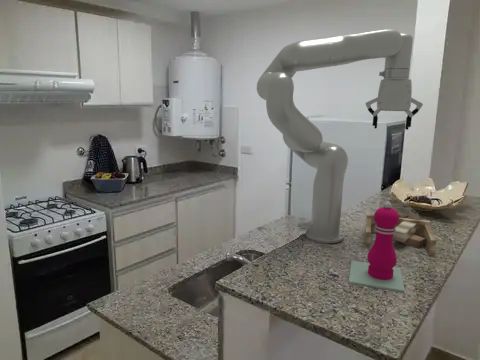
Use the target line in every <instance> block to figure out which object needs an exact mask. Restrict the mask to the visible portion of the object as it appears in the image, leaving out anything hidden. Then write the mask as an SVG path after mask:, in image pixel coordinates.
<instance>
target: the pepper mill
mask: <svg viewBox="0 0 480 360" xmlns="http://www.w3.org/2000/svg"><path fill="white" fill-rule="evenodd" d="M391 203H392V202H390V201H385V202H384V203H383V206H382V207H379V208H377V209H376V211H375V212H374V214H373V215H374V220H375V222H376V225H375V231H376V233H375V234H376V235H375V238H374V239H375V240H374V242H373V244H372V245H371V246H370V248H369V250H368V253H367V259H366V260H367V263H370V265H369V266H368V274H369V275H370V276H372V277H374V278H377V279H381V280H389V279H391V278H392V277H393V272H394V270H393V269H392V268H393V267H396V265H397V263H398V258H397V253H396V250H395V247H394V242H393V241H394V240H393V234H394V233H395V229H396V227H395V225H396V224H397V223H398V222H399V215H398V213H397V211H396V210H394V209H393V208H391Z"/></svg>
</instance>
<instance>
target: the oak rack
mask: <svg viewBox="0 0 480 360" xmlns="http://www.w3.org/2000/svg"><path fill="white" fill-rule="evenodd" d="M403 221H407V222H412V223H417V224H416V232H415V233H414V234H413V235H416V236H420V237H423V238H426V242H425V246H424V247H425V249H426V251H427V255H428V256H432V257H435V255H436V254H435V253H436V248H437V238H436V236H435V233H434V231H433V230H432V227H431V225H430V224H431V223H430V222H431V221H430V220H425V219H421V220H416V219H407V218H399V222H398V223H397V224H396V225H395V227H397V226H398V225H399V224H401V223H402V222H403ZM375 225H376V222H375V220H374V214H369V213H367V214H366V219H365V229H364V247H365V248H371V237H372V236H371V235H372V233H375V234H376V231H375Z"/></svg>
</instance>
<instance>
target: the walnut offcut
mask: <svg viewBox="0 0 480 360" xmlns="http://www.w3.org/2000/svg"><path fill="white" fill-rule="evenodd" d="M393 241H394V242H397V243H401V244H404V245H406V246H410V247H413V248H416V249H421V248H424V247H426V246H425V242H426V238H423V237H420V236H416V235H411V236H410V237H409V238H408V239H407V240H406V241H405V242H400V241H396V240H393Z"/></svg>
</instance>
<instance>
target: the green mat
mask: <svg viewBox="0 0 480 360" xmlns="http://www.w3.org/2000/svg"><path fill="white" fill-rule="evenodd" d="M350 261H351V262H350V269H349V270H350V271H349V275H348V276H349V278H348V284H352V285H358V286H364V287H365V286H366V287H370V288H375V289H376V288H377V289H382V290H389V291H394V292H399V293H400V292H401V293H405V287H404V282H403V276H402V275H403V274H402V271H401V267H397V266H394V267H393V268H392V269H393V270H394V272H393V277H392V278H391V279H389V280H381V279H377V278H374V277H372V276H370V275H369V274H368V266H369V265H370V263H369V262H362V261H357V260H356V261H355V260H350Z"/></svg>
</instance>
